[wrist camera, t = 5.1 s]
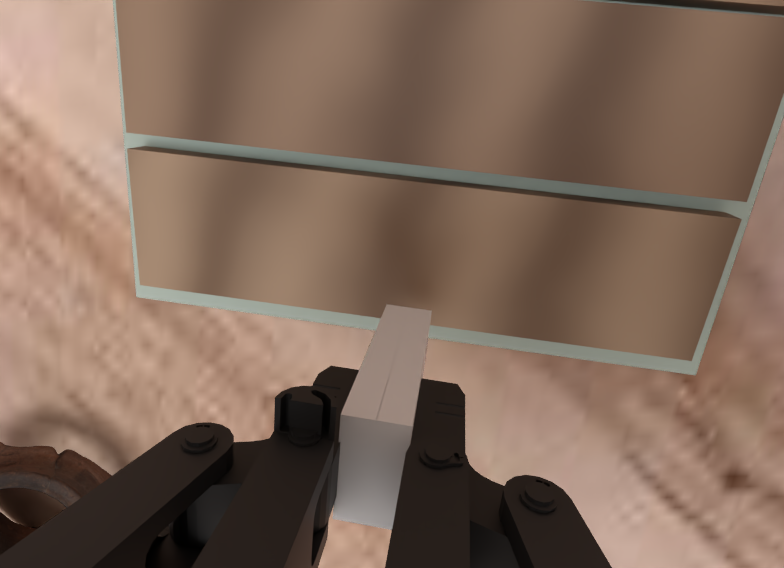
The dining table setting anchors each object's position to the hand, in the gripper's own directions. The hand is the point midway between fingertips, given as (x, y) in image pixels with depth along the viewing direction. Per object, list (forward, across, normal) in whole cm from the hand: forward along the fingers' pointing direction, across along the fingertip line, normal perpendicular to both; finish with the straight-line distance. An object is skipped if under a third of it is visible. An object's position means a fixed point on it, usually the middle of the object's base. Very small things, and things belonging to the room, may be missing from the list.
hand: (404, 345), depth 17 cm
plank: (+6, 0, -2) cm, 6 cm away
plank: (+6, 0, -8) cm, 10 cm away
